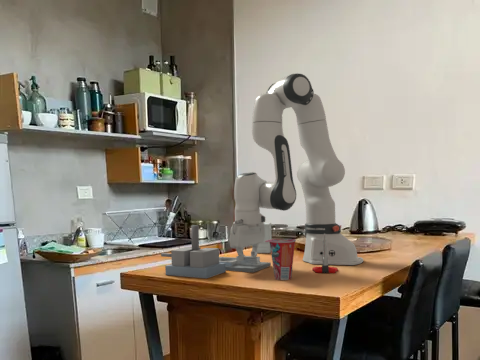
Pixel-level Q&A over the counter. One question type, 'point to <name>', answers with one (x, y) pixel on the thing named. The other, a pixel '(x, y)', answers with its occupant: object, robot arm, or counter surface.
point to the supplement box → (265, 246)
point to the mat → (248, 267)
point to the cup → (282, 257)
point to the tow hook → (325, 261)
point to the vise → (194, 260)
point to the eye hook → (235, 261)
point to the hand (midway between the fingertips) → (248, 258)
